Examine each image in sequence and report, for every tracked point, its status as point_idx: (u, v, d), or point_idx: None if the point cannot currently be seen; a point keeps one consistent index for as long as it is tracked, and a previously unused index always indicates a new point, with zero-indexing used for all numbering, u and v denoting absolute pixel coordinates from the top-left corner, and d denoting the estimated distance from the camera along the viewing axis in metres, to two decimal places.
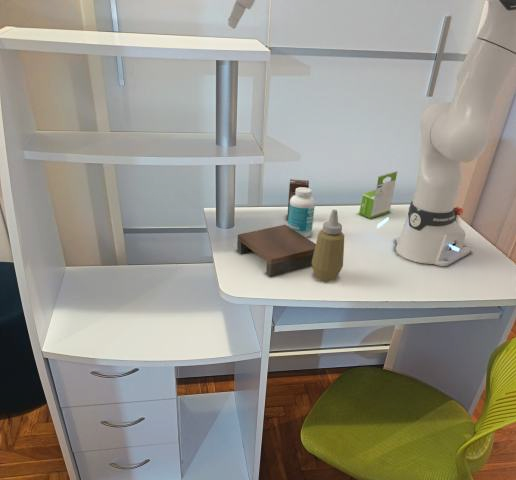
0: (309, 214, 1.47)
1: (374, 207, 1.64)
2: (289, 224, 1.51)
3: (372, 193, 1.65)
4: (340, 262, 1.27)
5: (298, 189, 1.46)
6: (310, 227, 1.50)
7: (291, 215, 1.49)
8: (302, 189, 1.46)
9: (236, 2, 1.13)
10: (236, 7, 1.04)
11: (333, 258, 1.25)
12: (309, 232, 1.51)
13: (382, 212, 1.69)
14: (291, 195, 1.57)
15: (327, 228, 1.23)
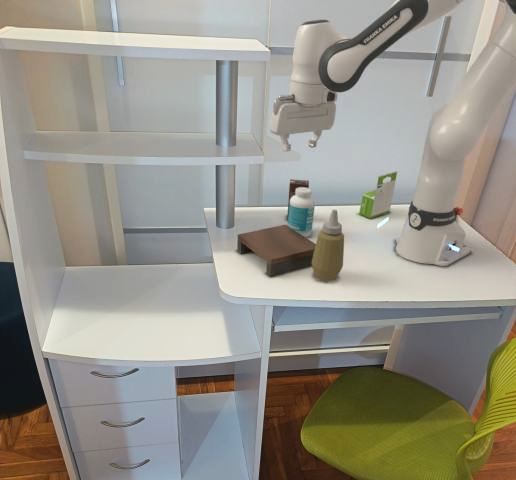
0: (309, 214, 1.47)
1: (374, 207, 1.64)
2: (289, 224, 1.51)
3: (372, 193, 1.65)
4: (340, 262, 1.27)
5: (298, 189, 1.46)
6: (310, 227, 1.50)
7: (291, 215, 1.49)
8: (302, 189, 1.46)
9: (313, 130, 1.39)
10: (280, 136, 1.33)
11: (333, 258, 1.25)
12: (309, 232, 1.51)
13: (382, 212, 1.69)
14: (291, 195, 1.57)
15: (327, 228, 1.23)
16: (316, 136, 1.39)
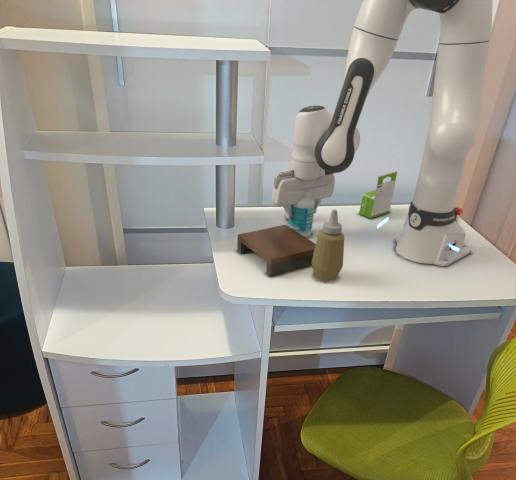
0: (309, 214, 1.47)
1: (374, 207, 1.64)
2: (289, 224, 1.51)
3: (372, 193, 1.65)
4: (340, 262, 1.27)
5: None
6: (310, 227, 1.50)
7: None
8: None
9: None
10: (283, 206, 1.46)
11: (333, 258, 1.25)
12: (309, 232, 1.51)
13: (382, 212, 1.69)
14: None
15: (327, 228, 1.23)
16: (316, 203, 1.51)
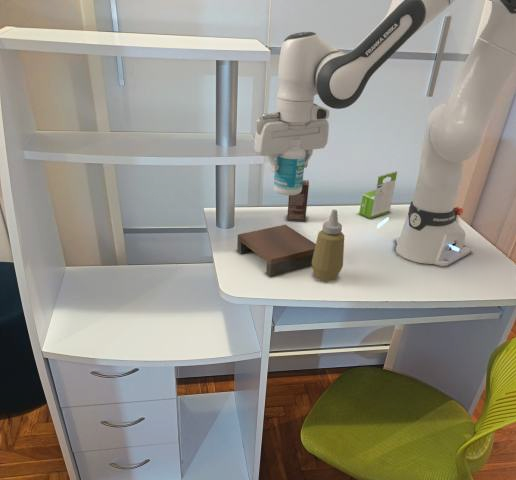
0: (298, 166, 1.26)
1: (374, 207, 1.64)
2: (275, 179, 1.30)
3: (372, 193, 1.65)
4: (340, 262, 1.27)
5: None
6: (300, 183, 1.29)
7: None
8: None
9: None
10: (268, 156, 1.25)
11: (333, 258, 1.25)
12: (299, 189, 1.30)
13: (382, 212, 1.69)
14: (291, 195, 1.57)
15: (327, 228, 1.23)
16: (307, 156, 1.30)
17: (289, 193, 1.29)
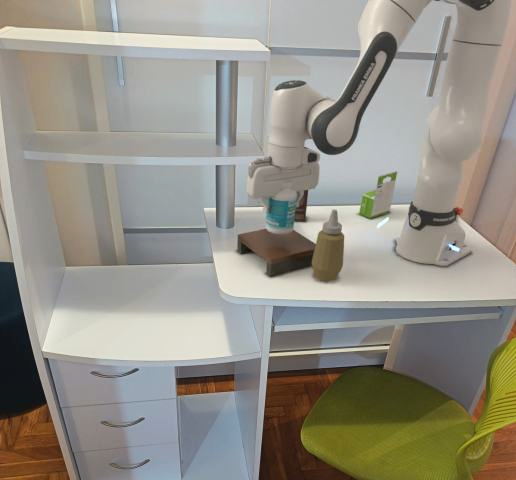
0: (290, 208, 1.29)
1: (374, 207, 1.64)
2: (267, 219, 1.32)
3: (372, 193, 1.65)
4: (340, 262, 1.27)
5: None
6: (291, 223, 1.32)
7: None
8: None
9: None
10: (260, 198, 1.27)
11: (333, 258, 1.25)
12: (290, 228, 1.32)
13: (382, 212, 1.69)
14: None
15: (327, 228, 1.23)
16: (298, 196, 1.32)
17: (281, 233, 1.32)
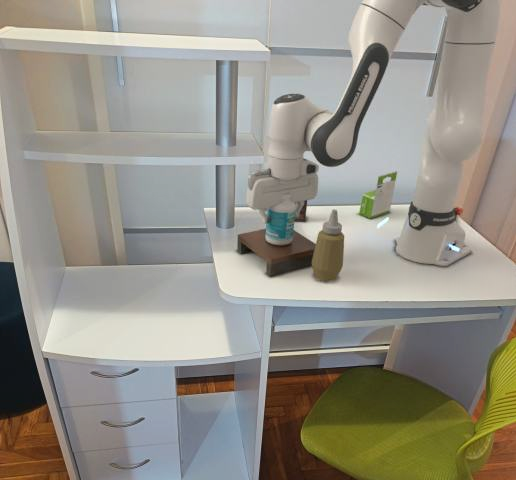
0: (289, 219, 1.30)
1: (374, 207, 1.64)
2: (267, 230, 1.34)
3: (372, 193, 1.65)
4: (340, 262, 1.27)
5: None
6: (291, 234, 1.34)
7: None
8: None
9: None
10: (258, 209, 1.29)
11: (333, 258, 1.25)
12: (290, 239, 1.34)
13: (382, 212, 1.69)
14: None
15: (327, 228, 1.23)
16: (299, 206, 1.34)
17: (280, 244, 1.34)
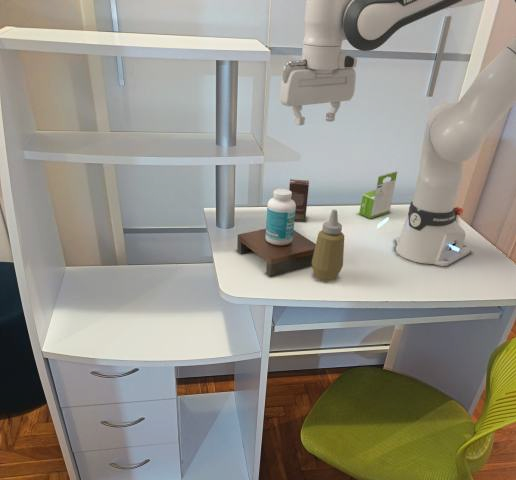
0: (289, 219, 1.30)
1: (374, 207, 1.64)
2: (267, 230, 1.34)
3: (372, 193, 1.65)
4: (340, 262, 1.27)
5: (277, 191, 1.29)
6: (291, 234, 1.34)
7: (268, 220, 1.32)
8: (281, 191, 1.29)
9: (331, 102, 1.26)
10: (293, 108, 1.21)
11: (333, 258, 1.25)
12: (290, 239, 1.34)
13: (382, 212, 1.69)
14: None
15: (327, 228, 1.23)
16: (334, 108, 1.26)
17: (280, 244, 1.34)
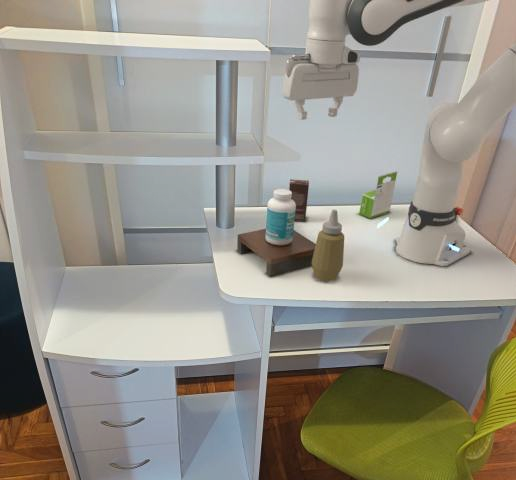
0: (289, 219, 1.30)
1: (374, 207, 1.64)
2: (267, 230, 1.34)
3: (372, 193, 1.65)
4: (340, 262, 1.27)
5: (277, 191, 1.29)
6: (291, 234, 1.34)
7: (268, 220, 1.32)
8: (281, 191, 1.29)
9: (333, 97, 1.25)
10: (295, 102, 1.20)
11: (333, 258, 1.25)
12: (290, 239, 1.34)
13: (382, 212, 1.69)
14: None
15: (327, 228, 1.23)
16: (337, 104, 1.25)
17: (280, 244, 1.34)
